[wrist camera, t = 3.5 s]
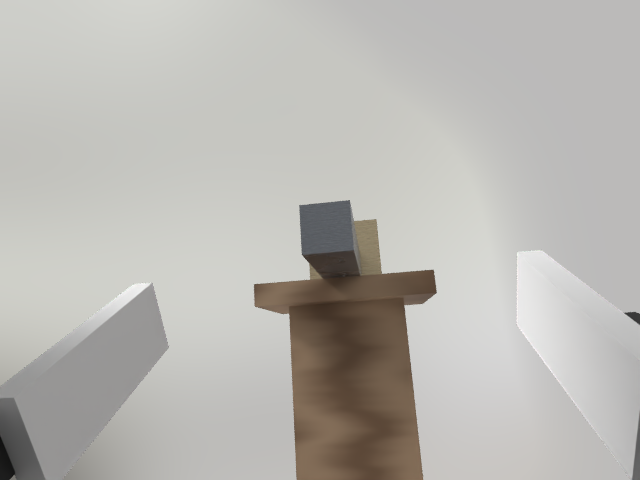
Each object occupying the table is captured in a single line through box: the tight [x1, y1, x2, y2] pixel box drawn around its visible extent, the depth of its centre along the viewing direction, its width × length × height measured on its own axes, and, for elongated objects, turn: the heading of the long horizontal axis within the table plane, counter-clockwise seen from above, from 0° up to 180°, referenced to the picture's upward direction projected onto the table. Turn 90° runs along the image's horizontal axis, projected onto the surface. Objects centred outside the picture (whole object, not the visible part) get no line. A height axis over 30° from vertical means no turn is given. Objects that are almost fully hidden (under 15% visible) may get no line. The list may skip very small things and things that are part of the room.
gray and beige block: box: [300, 200, 382, 280], centre depth 29 cm, size 6×16×5 cm, turn 172°
